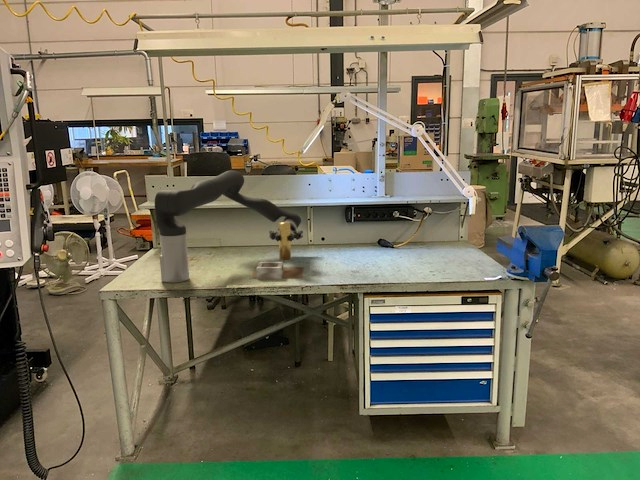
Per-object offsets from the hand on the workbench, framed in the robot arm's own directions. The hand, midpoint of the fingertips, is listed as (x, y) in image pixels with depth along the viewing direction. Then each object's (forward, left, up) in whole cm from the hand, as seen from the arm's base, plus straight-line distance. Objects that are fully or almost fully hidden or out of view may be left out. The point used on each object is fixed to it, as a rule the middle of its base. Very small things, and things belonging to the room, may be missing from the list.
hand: (284, 238), depth 181 cm
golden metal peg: (0, +3, -8) cm, 9 cm away
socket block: (-2, -2, -14) cm, 14 cm away
